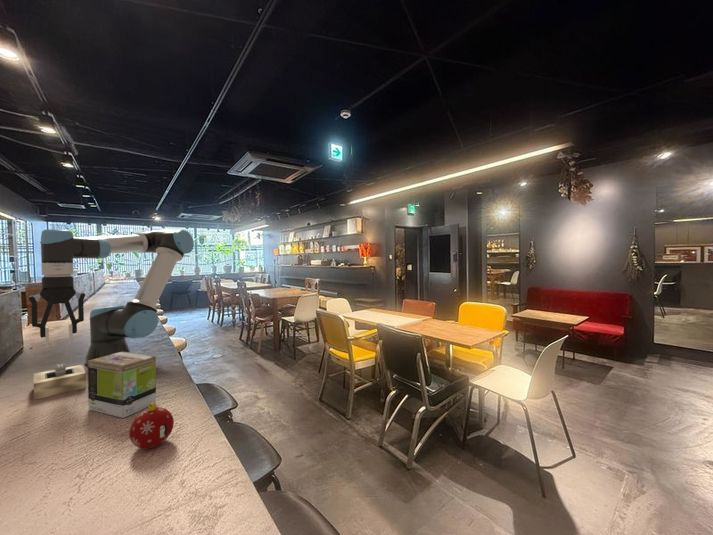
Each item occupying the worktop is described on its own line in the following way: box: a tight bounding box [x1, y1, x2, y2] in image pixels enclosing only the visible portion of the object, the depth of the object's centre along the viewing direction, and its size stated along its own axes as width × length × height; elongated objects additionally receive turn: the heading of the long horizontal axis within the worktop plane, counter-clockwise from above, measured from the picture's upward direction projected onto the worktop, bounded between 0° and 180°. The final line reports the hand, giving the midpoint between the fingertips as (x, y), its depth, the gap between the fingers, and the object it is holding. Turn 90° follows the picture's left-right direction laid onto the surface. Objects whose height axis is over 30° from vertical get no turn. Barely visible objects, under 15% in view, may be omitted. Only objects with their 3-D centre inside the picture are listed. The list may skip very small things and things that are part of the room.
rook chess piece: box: [53, 362, 68, 377], centre depth 101 cm, size 4×4×8 cm
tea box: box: [87, 351, 157, 419], centre depth 88 cm, size 15×10×15 cm
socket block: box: [33, 364, 87, 400], centre depth 100 cm, size 12×12×5 cm
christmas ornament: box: [129, 403, 175, 450], centre depth 70 cm, size 9×9×10 cm
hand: (59, 344), depth 100 cm, fingers open, 5 cm apart
